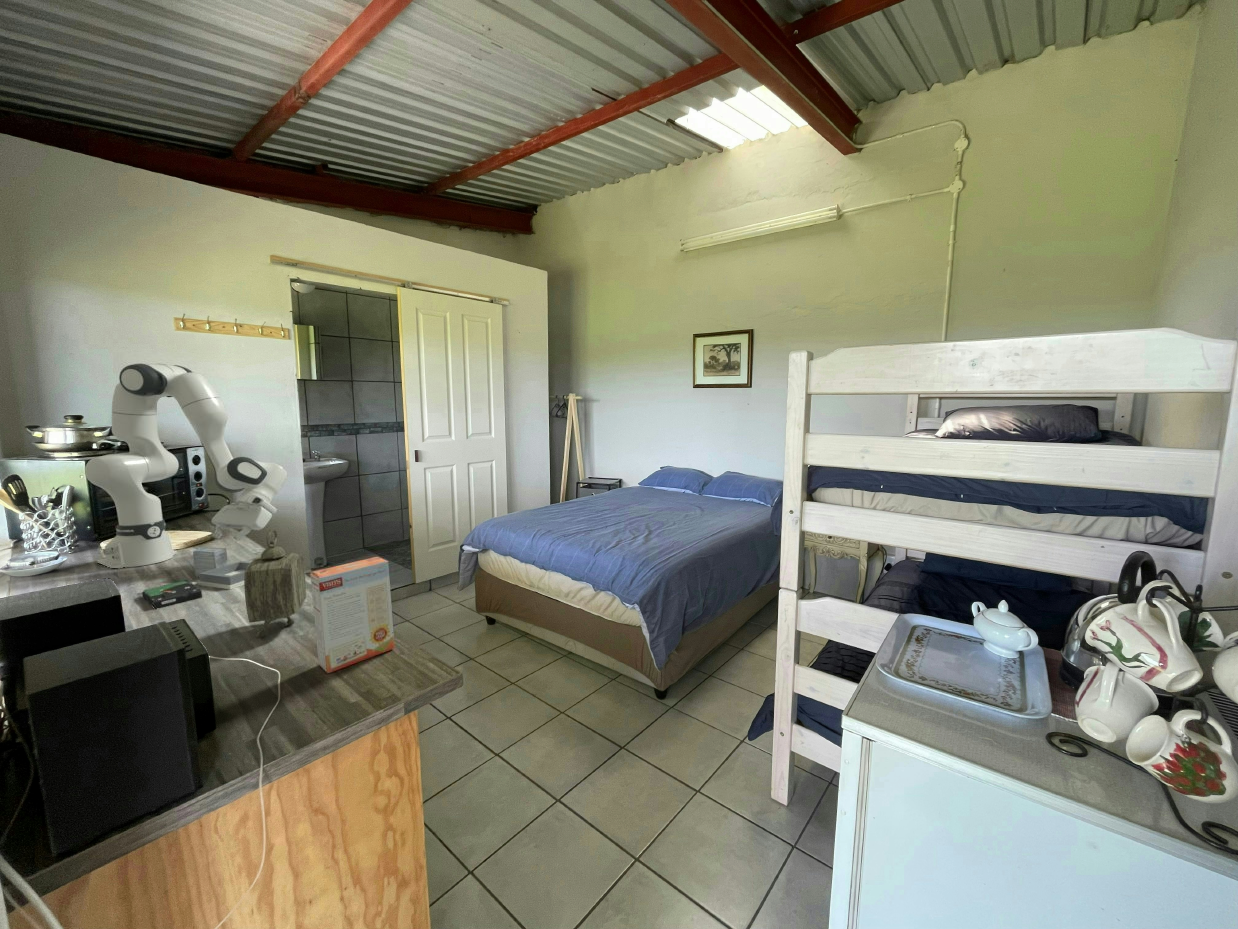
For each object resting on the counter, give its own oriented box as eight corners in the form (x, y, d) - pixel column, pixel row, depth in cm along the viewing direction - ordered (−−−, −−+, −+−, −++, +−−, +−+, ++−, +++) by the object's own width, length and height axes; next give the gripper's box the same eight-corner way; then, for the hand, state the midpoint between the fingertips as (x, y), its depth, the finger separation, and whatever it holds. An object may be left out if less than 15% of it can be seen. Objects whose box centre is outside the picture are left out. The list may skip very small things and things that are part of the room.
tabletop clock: (269, 617, 126) (260, 524, 123) (309, 612, 130) (302, 521, 127) (249, 642, 113) (239, 538, 110) (294, 636, 116) (286, 534, 113)
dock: (196, 584, 150) (195, 573, 149) (242, 570, 163) (241, 560, 163) (230, 589, 146) (229, 578, 145) (274, 574, 159) (273, 563, 159)
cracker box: (384, 641, 114) (378, 555, 111) (395, 649, 110) (390, 560, 107) (316, 664, 103) (309, 570, 101) (326, 675, 99) (318, 577, 97)
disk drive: (203, 599, 140) (187, 587, 148) (202, 590, 140) (186, 579, 148) (155, 611, 132) (141, 598, 140) (154, 602, 131) (140, 589, 140)
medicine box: (229, 573, 160) (227, 547, 159) (217, 577, 156) (214, 551, 155) (207, 572, 161) (205, 546, 160) (195, 576, 157) (192, 550, 156)
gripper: (222, 497, 171) (195, 531, 163) (267, 500, 165) (241, 535, 157) (237, 507, 176) (210, 540, 167) (280, 510, 170) (256, 545, 162)
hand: (226, 538), depth 162 cm, fingers open, 8 cm apart
